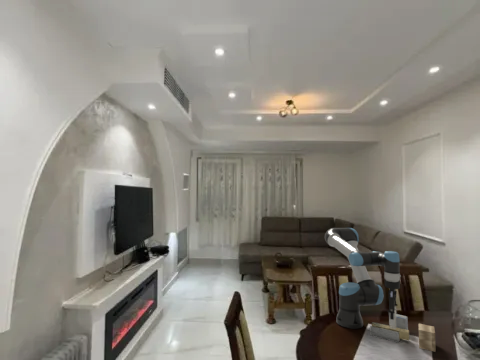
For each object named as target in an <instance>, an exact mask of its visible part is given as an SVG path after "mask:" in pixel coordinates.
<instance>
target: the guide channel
mask: <svg viewBox="0 0 480 360" xmlns="http://www.w3.org/2000/svg"><path fill="white" fill-rule="evenodd" d="M372 322H373V321H372ZM373 323H375V322H373ZM377 323H378V322H377ZM378 324H380V323H378ZM383 325H385V324H384V323H383ZM386 325H387V326H389V325H388V324H386ZM397 328H398V327H397ZM369 329H370V333H369V334H370V336H371V337H375V338H379V339H383V340H388V341H392V342H396V343H399V342H400V340H401V339H399V332H397V331H392V330H388V329H383V328H378V327H374V326H372V325H370V327H369Z"/></svg>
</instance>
